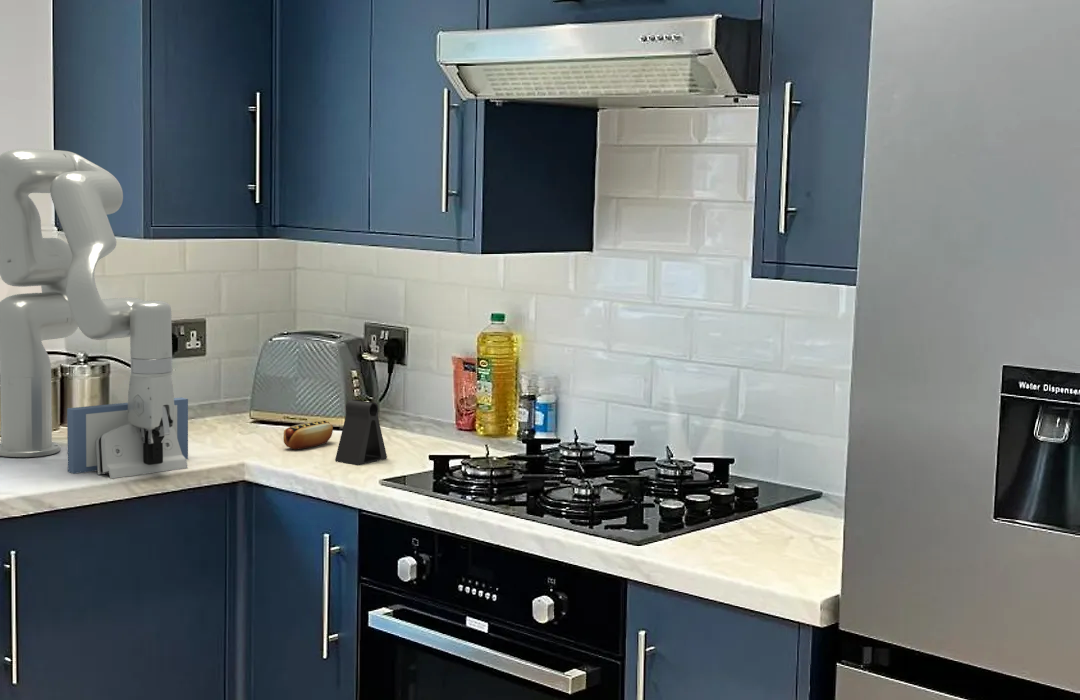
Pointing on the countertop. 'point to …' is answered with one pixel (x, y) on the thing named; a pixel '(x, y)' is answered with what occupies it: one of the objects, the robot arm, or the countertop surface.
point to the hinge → (134, 453)
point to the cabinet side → (103, 418)
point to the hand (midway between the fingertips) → (153, 463)
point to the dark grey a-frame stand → (361, 435)
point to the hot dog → (307, 434)
